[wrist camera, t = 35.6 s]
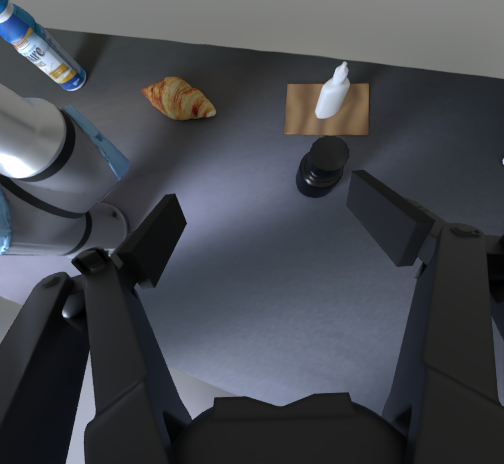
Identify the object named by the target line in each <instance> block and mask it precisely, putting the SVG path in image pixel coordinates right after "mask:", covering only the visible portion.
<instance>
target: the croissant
mask: <svg viewBox="0 0 504 464" xmlns="http://www.w3.org/2000/svg"><path fill="white" fill-rule="evenodd" d="M142 93H143V94H144V95H145V96H146V97H147V98H148V99H149V100H150V102H151V103H152V105H153V106H155V107H156V108H157V109H158V110H160V111H161V112H162V113H163V114H165V115H167V116H168V117H169V118H171V119H174V120H175V119H177V120H187V119H191V118H193V119H198V118H200V117H201V118H202V117H206V118H207V117H212V116H214V115H215V114H216V110H215V109H214V106H213V105H212V103H211V102H210V101H209V100H208V99H206V98H205V96H204V95H203V93H202V92H200V91H199V90H198V89H197V88H192V87H191V86H190V85H189V84H188V83H186V82H185V81H184V80H182V79H181V78H177V77H165V78H164V79H163V80H162V81H158V82H157V83H156V85H155V84H152V85H149V86H148V87H143V89H142Z"/></svg>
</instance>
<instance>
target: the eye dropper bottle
mask: <svg viewBox="0 0 504 464" xmlns="http://www.w3.org/2000/svg"><path fill="white" fill-rule="evenodd" d="M346 65H347V63H346V62H343V64H342V65H341V66H339V67H337V68H336V70H335V73H334V76H333V78H332V79H330V80H329V81H327V82H326V83H325V84H324V85H323V87H322V90H321V93H320V96H319V99H318V103H317V106H316V109H315V113H316V116H317V118H320V119H324V118H329V117H331V116H333V115H335V114H336V113H338V111H339V109H340V107H341V105H342V103H343V101H344V98H345V96H346V94H347V92H348V89H349V87H350V82H349V80H348V78H347V77H346V76H347V74H348V68H347V67H346Z"/></svg>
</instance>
